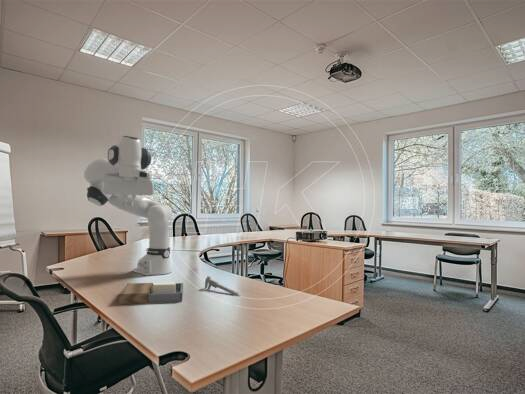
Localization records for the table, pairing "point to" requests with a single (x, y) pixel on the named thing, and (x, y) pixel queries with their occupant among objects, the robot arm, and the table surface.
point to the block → (164, 287)
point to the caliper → (215, 284)
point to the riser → (136, 293)
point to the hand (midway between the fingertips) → (128, 205)
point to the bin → (168, 295)
